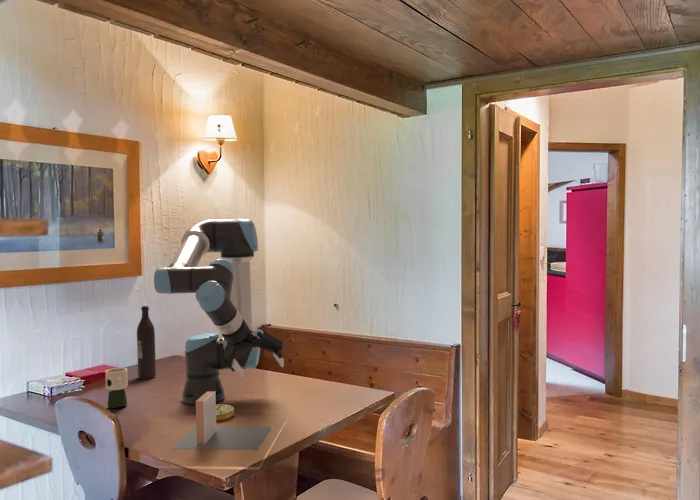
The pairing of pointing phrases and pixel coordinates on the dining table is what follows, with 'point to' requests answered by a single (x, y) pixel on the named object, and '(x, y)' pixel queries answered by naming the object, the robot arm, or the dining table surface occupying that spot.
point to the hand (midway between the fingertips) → (262, 369)
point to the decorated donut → (224, 412)
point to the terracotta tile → (206, 417)
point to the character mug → (116, 386)
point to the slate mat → (227, 439)
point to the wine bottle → (146, 346)
